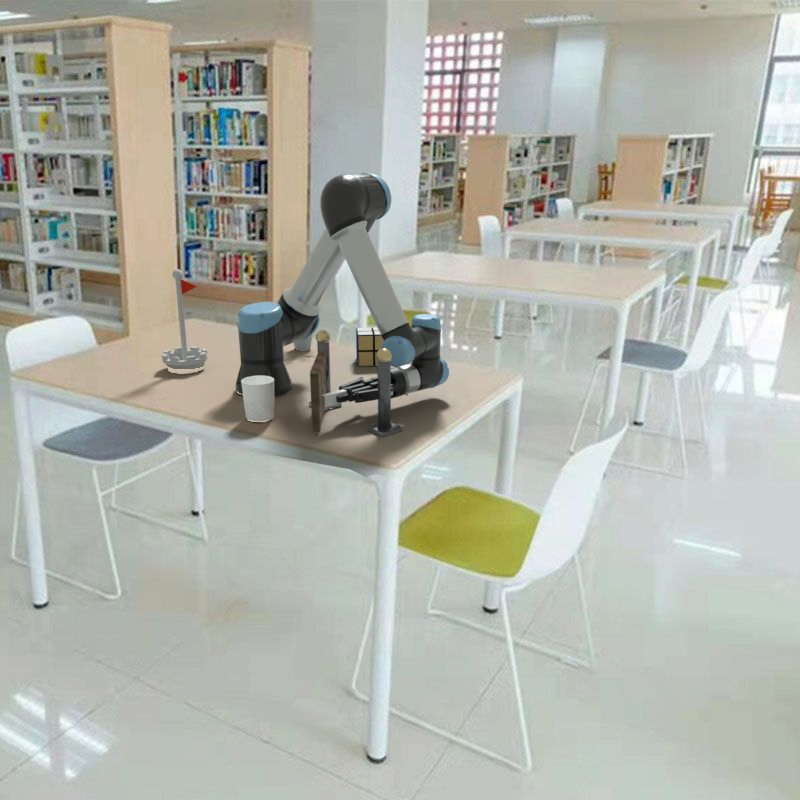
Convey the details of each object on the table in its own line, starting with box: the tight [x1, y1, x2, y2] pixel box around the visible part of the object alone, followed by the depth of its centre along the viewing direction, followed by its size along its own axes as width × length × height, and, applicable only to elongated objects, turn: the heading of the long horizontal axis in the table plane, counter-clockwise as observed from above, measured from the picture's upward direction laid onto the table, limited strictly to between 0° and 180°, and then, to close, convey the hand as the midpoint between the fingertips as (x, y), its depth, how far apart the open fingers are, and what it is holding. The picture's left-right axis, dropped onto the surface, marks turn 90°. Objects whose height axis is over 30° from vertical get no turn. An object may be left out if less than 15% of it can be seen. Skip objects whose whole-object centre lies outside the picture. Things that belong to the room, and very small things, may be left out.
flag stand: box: [161, 269, 209, 369], centre depth 226 cm, size 13×13×30 cm
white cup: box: [241, 375, 275, 421], centre depth 188 cm, size 8×8×10 cm
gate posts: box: [308, 329, 403, 438], centre depth 187 cm, size 30×6×20 cm, turn 41°
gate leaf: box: [309, 350, 326, 433], centre depth 185 cm, size 20×2×14 cm, turn 0°
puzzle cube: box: [355, 326, 384, 368], centre depth 237 cm, size 10×10×10 cm
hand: (323, 401), depth 181 cm, fingers closed
